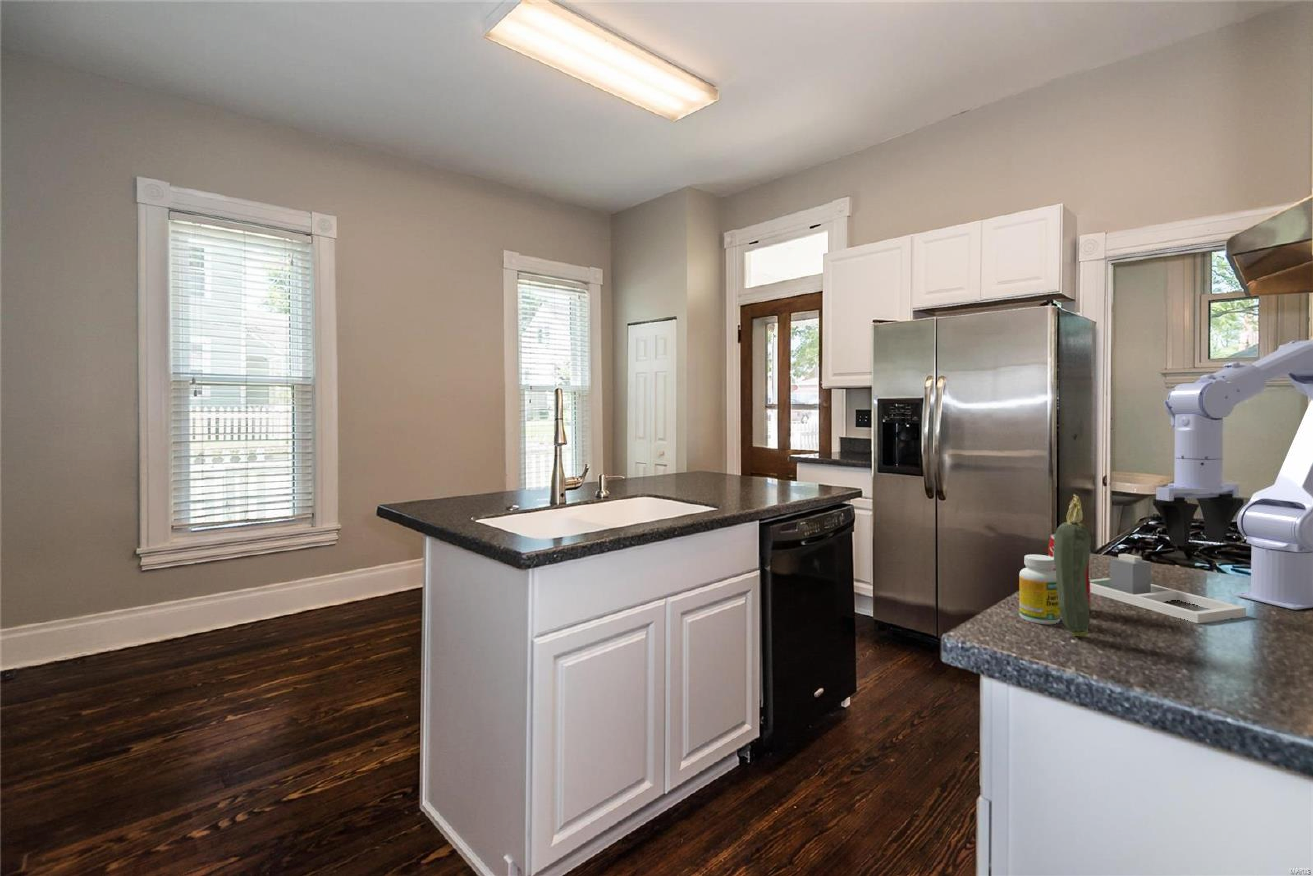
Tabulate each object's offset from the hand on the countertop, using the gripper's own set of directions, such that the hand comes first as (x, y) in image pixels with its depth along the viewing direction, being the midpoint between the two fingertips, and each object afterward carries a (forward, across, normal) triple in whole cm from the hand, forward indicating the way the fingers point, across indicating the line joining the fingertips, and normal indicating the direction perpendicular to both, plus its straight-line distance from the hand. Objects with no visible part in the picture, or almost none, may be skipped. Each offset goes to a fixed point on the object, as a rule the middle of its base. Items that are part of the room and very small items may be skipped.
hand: (1197, 543), depth 97 cm
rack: (+10, +3, -4) cm, 11 cm away
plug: (+10, +3, -8) cm, 14 cm away
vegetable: (+10, +30, +4) cm, 32 cm away
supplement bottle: (+10, +28, -2) cm, 30 cm away
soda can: (+10, +20, -5) cm, 23 cm away
